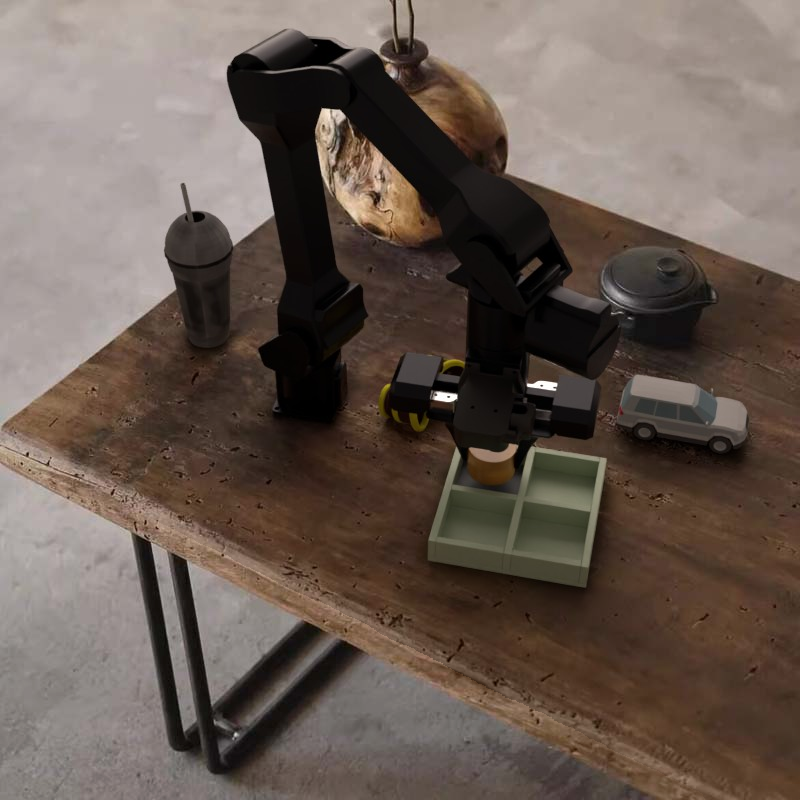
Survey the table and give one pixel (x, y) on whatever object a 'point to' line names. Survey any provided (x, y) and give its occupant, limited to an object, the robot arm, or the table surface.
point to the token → (491, 465)
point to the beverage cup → (201, 273)
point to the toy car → (682, 413)
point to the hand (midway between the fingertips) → (491, 461)
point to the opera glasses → (412, 419)
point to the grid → (522, 518)
